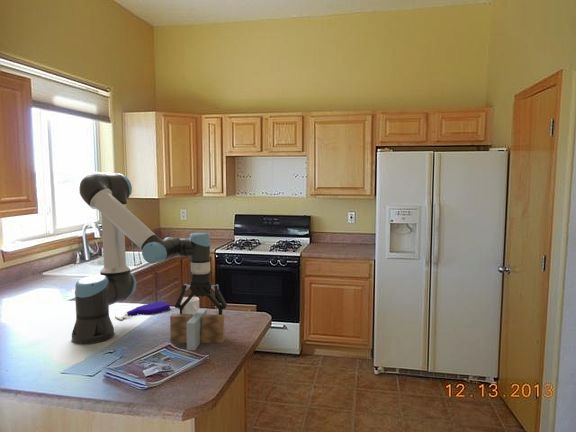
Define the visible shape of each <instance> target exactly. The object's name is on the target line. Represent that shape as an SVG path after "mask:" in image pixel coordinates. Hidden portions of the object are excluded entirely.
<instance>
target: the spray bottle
mask: <svg viewBox="0 0 576 432" xmlns="http://www.w3.org/2000/svg"><path fill="white" fill-rule="evenodd" d="M170 310H171V305H170V304H169V303H167V302H164V301H156V302H152V303H147V304H143V305H140V306H137V307H135V308H133V309H130V310H129V311H126V312H124V313H123V312H122V313H116V314H115V315H114V317H115V319H117V320H120V321H123V320H124V319H127V318H132V316H133V315H134V316H136V315H137V314H138V315H145V316H146V315H148V316H149V315H150V314H151V315H155V313H156V314H159V313H160V314H161V313H163V312H167V311H170Z"/></svg>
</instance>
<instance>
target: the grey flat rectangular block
mask: <svg viewBox="0 0 576 432" xmlns="http://www.w3.org/2000/svg"><path fill="white" fill-rule="evenodd" d="M204 314H208V308H199V310H198V311H197V312H196V313H195V314H194V315H193V316H192V318H191V319H190V320H189V321H188V322H187V323H186V326H187V342H186V351H196V350H197V348H198V347H199V346H200V344H201V343H200V329H201V328H202V316H203V315H204Z"/></svg>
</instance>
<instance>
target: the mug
mask: <svg viewBox="0 0 576 432" xmlns="http://www.w3.org/2000/svg"><path fill="white" fill-rule="evenodd" d="M188 297H189V296H184V297H183V299H182V301H181V304H180V305H182V304H183V303H184V301H185V300H186V299H187V298H188ZM184 308H186V314H193V315H194V314H195V313H196V312H197V311H198V310H199V309H200V298H199V296H193V297H192V298H191V300H190V301H189V302H188V303H187V304H186V305H185V307H184ZM178 314H180V309H179V308H178Z"/></svg>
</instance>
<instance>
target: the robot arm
mask: <svg viewBox="0 0 576 432" xmlns="http://www.w3.org/2000/svg"><path fill="white" fill-rule="evenodd" d="M78 192H79V195H80V197H81V198H82V200H83V201H84V202H85V203H86V204H87V205H88V206H89V207H90V208H91V209H93V210H97V211H98V212H100V215H101V216H100V218H101V232H102V234H101V235H102V253H103V254H102V255H103V268H101V270H100V271H99V272H100V274H95V275H93V274H92V275H88V276H85V277H82V278H81V279H79V280H77V281H76V283H75V289H74V295H75V296H74V298H75V299H74V300H75V316H76V317H75V323H74V324H73V325H74V326H73V329H72V332H71V341H72V342H73V343H75V344H81V345H82V344H83V345H85V344H86V345H88V344H96V343H97V344H98V343H101V342H105V341H107V340H110V339H111V338H112V337H115V328H114V325H113V322H112V319H111V317H110V306H111V305H114V304H116V303H119V302H122V301H125V300H127V299H129V297H131V296H132V295H133V294H135V292H136V289H137V279H136V276H134V274H133V273H132V272H131V268H130V267H129V266H128V265H127V263H126V262H127V261H126V260H127V259H126V258H127V257H126V240H125V239H126V238H125V237H127V238H128V239H129V240H130V241H132V242H133V244H134V245H136V246H137V247H138V248H139V249H140V250H141V254H142V257H143V260H144V261H145V262H147V264H148V263H149V264H158V263H162V262H164V261H167V260H171V259H174V258H178V257H180V258H182V257H187V258H189V259H190V272H191V273H190V284H188V283H184V284H183V285H182V291H180V292H181V293H180V295H179V296H178V299H177V301H176V302H175V305H174V308H175V309H178V310H179V309H180V314H186V308H184V307H185V305H186V304H187V303H188V302H189V301H190V300H191V298H192V297H206V298H208V299H209V300H210V302H211V303H213V305H214V306H215V307H216V310H215V311H216V315H223V310H225V309H226V308H227V307H228V304H227V302H226V300H225V298H224V296H223V294H222V292H221V291H220V287H219V286H220V285H219V283H216V284H212V283H211V240H210V239H211V237H210V234H209V233H207V232H193V233H190V235H189V237H176V236H168V237H165V238H164V239H162V238H160V237H159V236H158V235H157V234H155V232H154V231H153V230H151V229H150V228H149V227H148V226H147V225H146V224H145V223H144V222H143V221H141V220H140V219H139V218H138V217H137V216H136V215H135V214H133V212H131V211H130V210H129V208H127V207H126V206H127V204H128V199H129V198H130V196H131V195H132V192H133V188H132V183H131V181H130V179H129V178H128V177H127V176H125V174H122V173H118V172H100V171H92V172H88V173H86V174H84V175H83V177H82V178H81V179H80V181H79V184H78ZM189 289H190V290H191V293H190V294H189V295H188V296H187V297H188V298H187V299H186V300H185V301H184V303H183V304H182V305H180V304H181V301H182V299H183V297H185V295H186V293H187V291H188V290H189ZM211 290H213V291H214V293H215V295H216V296H217V298H218V299H217V298H216V297H215V296H214V294H213V293H212V291H211Z"/></svg>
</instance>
